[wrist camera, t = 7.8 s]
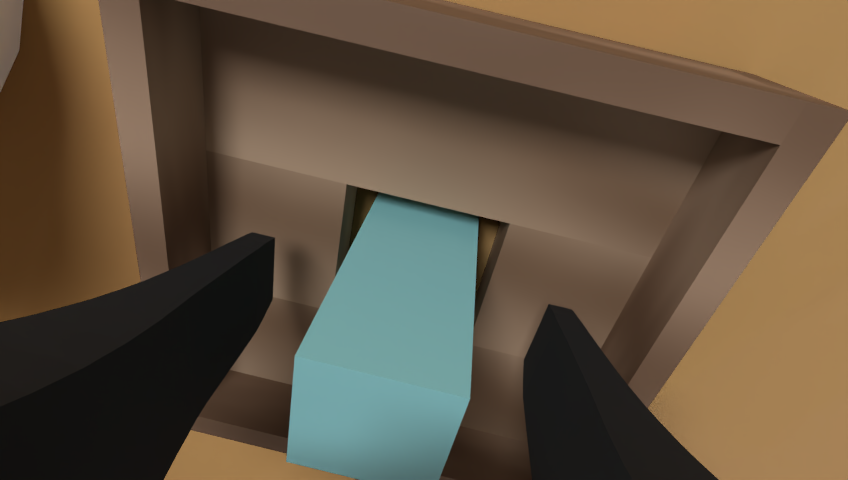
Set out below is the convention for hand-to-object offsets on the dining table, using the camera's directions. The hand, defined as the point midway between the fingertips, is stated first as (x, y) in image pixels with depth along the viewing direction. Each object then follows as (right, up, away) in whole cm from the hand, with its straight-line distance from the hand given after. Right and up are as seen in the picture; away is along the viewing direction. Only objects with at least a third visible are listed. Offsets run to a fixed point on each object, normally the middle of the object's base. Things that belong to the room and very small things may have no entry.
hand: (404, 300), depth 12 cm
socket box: (0, +1, +3) cm, 3 cm away
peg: (0, +2, +2) cm, 3 cm away
